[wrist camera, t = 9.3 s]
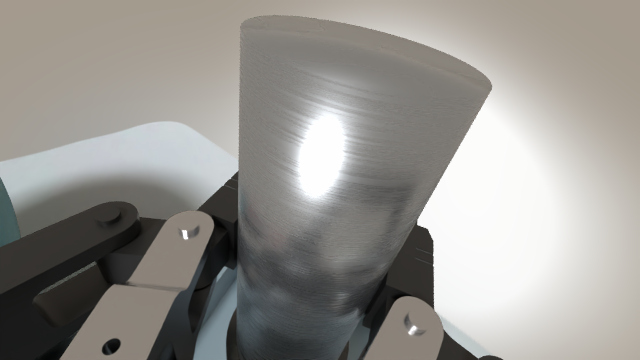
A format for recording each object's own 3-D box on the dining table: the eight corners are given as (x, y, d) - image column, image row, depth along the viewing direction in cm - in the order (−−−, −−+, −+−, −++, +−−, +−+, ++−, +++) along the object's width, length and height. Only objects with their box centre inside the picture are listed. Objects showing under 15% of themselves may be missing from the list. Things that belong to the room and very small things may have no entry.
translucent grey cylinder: (347, 326, 15) (488, 58, 7) (316, 450, 11) (579, 163, 3) (260, 289, 16) (290, 5, 7) (201, 393, 12) (124, 25, 3)
